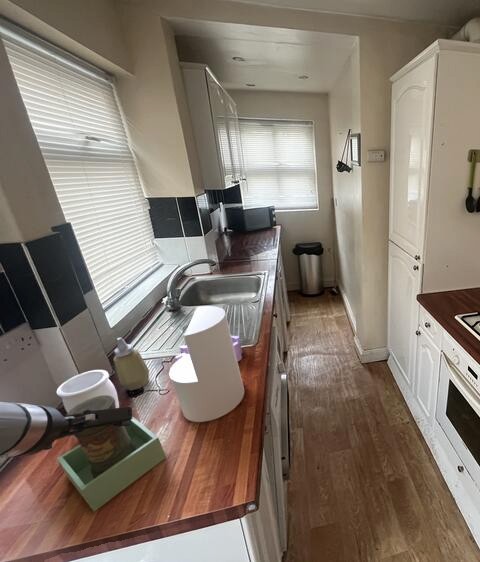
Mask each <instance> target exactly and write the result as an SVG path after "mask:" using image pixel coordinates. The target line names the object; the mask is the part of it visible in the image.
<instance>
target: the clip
mask: <svg viewBox="0 0 480 562" xmlns="http://www.w3.org/2000/svg"><path fill="white" fill-rule="evenodd" d="M231 338H232V342H233V346H234V350H235V354H236V358H237V362H238V363H239V362H240V361H241V360H242V359H243V356H242V354H243V352H244V351H243V348H242V344H241V339H240V336H238V335H231ZM179 350H180V354H177V355H175V357H174V358H175V363H176V362H177V361H178V360H179V359H180V358H182V357H183V356H185V355H187V354H189V351H188V348H187V345H184V344H183V345H180V346H179Z"/></svg>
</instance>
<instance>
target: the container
mask: <svg viewBox="0 0 480 562" xmlns="http://www.w3.org/2000/svg"><path fill="white" fill-rule="evenodd" d="M111 408H116V405H115V399H114V398H113V397H111V396H108V395H103V396H97V397H94V398H91V399H88V400H86V401H84V402H82V403H80V404H78V405H77V406H75V407H74V408H72V409H71V410H70V411H69V412H68V413H67V412H66V415H73V414H80V413H82V414H83V411H86V410H101V409H111ZM71 431H75V427H74V428H73V429H72V430H71ZM73 436H74V437H75V438H76V439H77V441H78V443H79V445H81V447H82V449H83V451H84V452H85V454H86V456H87V458H88V463H89V464H90V465H91V473H92V474H93V478H94V479H95V478H96V477H98V476H99V475H101V474H102V473H104V472H105V471H107V470H108V469H109V468H111V467H112V466H114V465H115V464H117V463H118V462H120V461H121V460H123V459H124V458H125V457H127V456H128V455H130V454H131V453H133V452H134V451H136V450H137V447H136V446H135V445H134V444H132V441H131V438H130V437H129V436H128V434H127V432H126V429H125V427H124V426H121V427H118V426H113V425H107V426H102V427H97V428H92V429H86V430H83V431H82V432H81V433H78V434H75V435H73Z"/></svg>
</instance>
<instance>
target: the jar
mask: <svg viewBox="0 0 480 562" xmlns="http://www.w3.org/2000/svg"><path fill="white" fill-rule="evenodd" d="M109 378H110V374H109V372H108V370H106V369H92V370H88V371H85V372H82V373H79V374H77V375H74V376H72V377H71V378H69V379H67V380H66V381H63V383H61V384H60V385H59V386H58V388H57V390H56V394H57V396H58V397H59V398H61V399H62V405H63V408H64V410H65V411H66V414H67V413H68V412H69V411H70V410H71V409H72V408H74V407H75V406H77V405H78V404H80V403H82V402H84V401H86V400H88V399H91V398H94V397H97V396H103V395H108V396H111V397H113V398H114V399H115V405H116V408H120V401H119V396H118V392H117V389H116V387H115V385H114V383H113V382H112V381H111V380H110V379H109Z"/></svg>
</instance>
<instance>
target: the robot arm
mask: <svg viewBox="0 0 480 562" xmlns="http://www.w3.org/2000/svg"><path fill="white" fill-rule="evenodd" d="M133 418H134V416H133V406H123V407H121V406H120V407H119V408H111V409H101V410H86V411H83V414H82V413H80V414H73V415H67V414H62V413H61V412H60V411H59V410H58V409H56V408H54V407H52V406H47V405H37V404H36V405H35V404H29V403H20V402H5V401H0V463H4V462H6V461H8V459H11V458H20V457H28V456H32V455H36V454H38V453H40V452H43V451H48V450H51V449H53V443H55V441H56V440H57V441H58V440H61V439H62V438H65V437H70V436H74V435H75V434H78V433H81V432H82V431H83V430H86V429H92V428H97V427H102V426H107V425H113V426H118V427H121V426H129V425H131V419H133ZM74 427H75V431H73V430H72V429H73V428H74Z"/></svg>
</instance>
